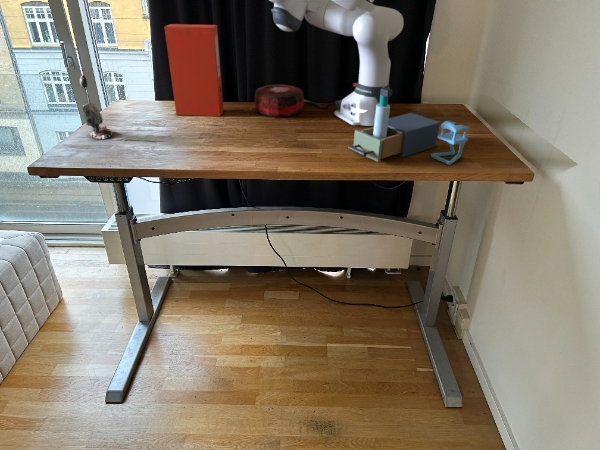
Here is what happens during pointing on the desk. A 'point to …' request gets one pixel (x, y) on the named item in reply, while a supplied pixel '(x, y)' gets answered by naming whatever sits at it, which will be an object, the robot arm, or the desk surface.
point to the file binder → (195, 69)
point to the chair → (451, 141)
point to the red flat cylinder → (279, 100)
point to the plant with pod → (94, 117)
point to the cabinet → (415, 132)
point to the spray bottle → (382, 114)
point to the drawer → (377, 144)
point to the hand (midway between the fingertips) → (374, 4)
